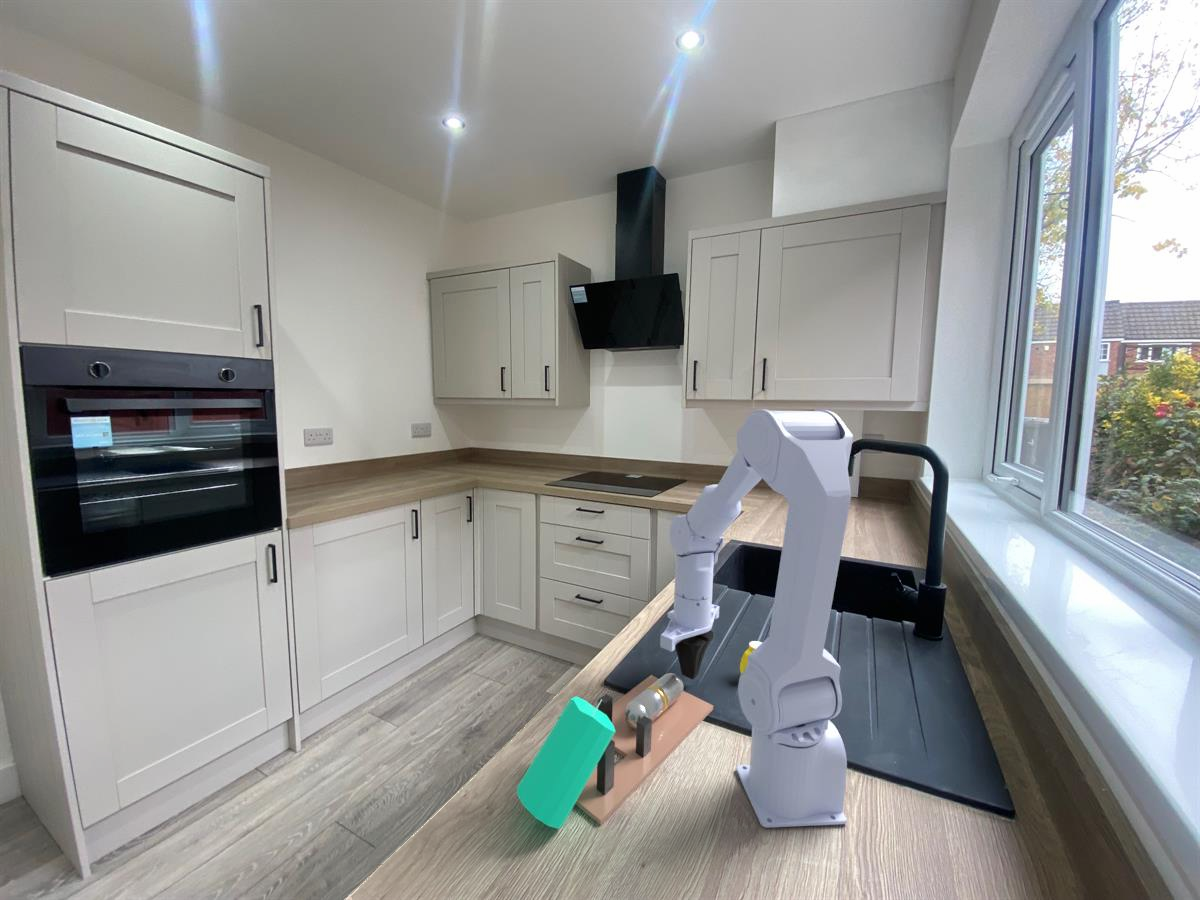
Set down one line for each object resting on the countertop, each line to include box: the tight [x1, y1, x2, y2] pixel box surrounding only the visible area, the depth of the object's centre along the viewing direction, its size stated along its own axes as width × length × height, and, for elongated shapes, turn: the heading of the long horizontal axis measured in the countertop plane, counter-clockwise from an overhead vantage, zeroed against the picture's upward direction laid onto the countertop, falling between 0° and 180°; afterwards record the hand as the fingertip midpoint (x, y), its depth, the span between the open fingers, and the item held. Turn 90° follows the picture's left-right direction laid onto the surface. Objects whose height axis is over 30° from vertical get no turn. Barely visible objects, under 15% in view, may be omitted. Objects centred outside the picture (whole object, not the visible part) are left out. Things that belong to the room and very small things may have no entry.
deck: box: [574, 674, 714, 826], centre depth 62 cm, size 25×11×1 cm, turn 139°
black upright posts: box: [557, 693, 652, 796], centre depth 57 cm, size 9×8×6 cm
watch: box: [739, 640, 763, 675], centre depth 75 cm, size 6×3×6 cm, turn 117°
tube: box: [624, 672, 684, 730], centre depth 66 cm, size 12×4×4 cm, turn 139°
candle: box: [516, 696, 615, 830], centre depth 51 cm, size 6×6×12 cm
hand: (689, 675), depth 73 cm, fingers closed
